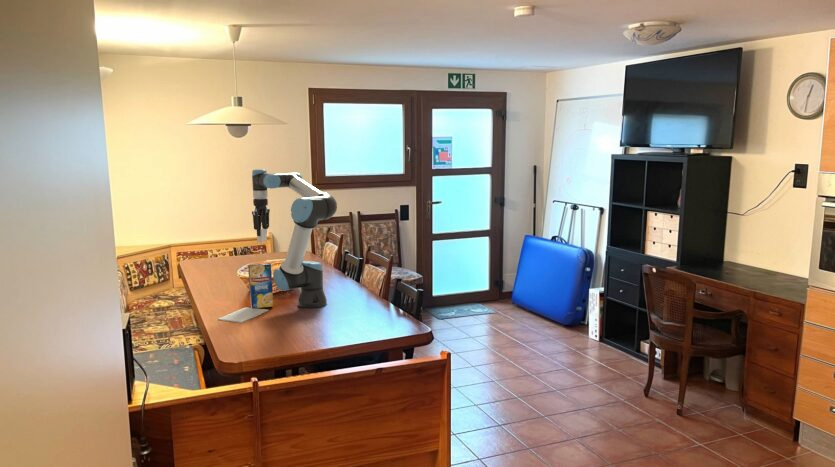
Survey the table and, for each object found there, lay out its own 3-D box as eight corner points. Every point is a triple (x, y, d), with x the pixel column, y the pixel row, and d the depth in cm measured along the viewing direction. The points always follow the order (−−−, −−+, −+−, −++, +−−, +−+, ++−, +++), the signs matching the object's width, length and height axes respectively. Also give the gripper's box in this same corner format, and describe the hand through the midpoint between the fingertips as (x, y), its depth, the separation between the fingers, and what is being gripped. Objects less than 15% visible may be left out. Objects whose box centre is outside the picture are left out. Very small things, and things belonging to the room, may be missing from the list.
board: (268, 310, 301) (268, 309, 301) (241, 322, 281) (241, 321, 281) (245, 308, 306) (245, 307, 306) (217, 319, 286) (217, 318, 286)
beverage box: (273, 306, 307) (271, 264, 306) (251, 308, 303) (249, 265, 302) (271, 304, 313) (269, 263, 312) (250, 306, 309) (248, 265, 308)
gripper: (263, 196, 324) (265, 238, 328) (245, 199, 309) (247, 243, 312) (275, 197, 322) (276, 239, 325) (257, 199, 307) (259, 244, 310)
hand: (262, 241), depth 319 cm, fingers open, 3 cm apart
